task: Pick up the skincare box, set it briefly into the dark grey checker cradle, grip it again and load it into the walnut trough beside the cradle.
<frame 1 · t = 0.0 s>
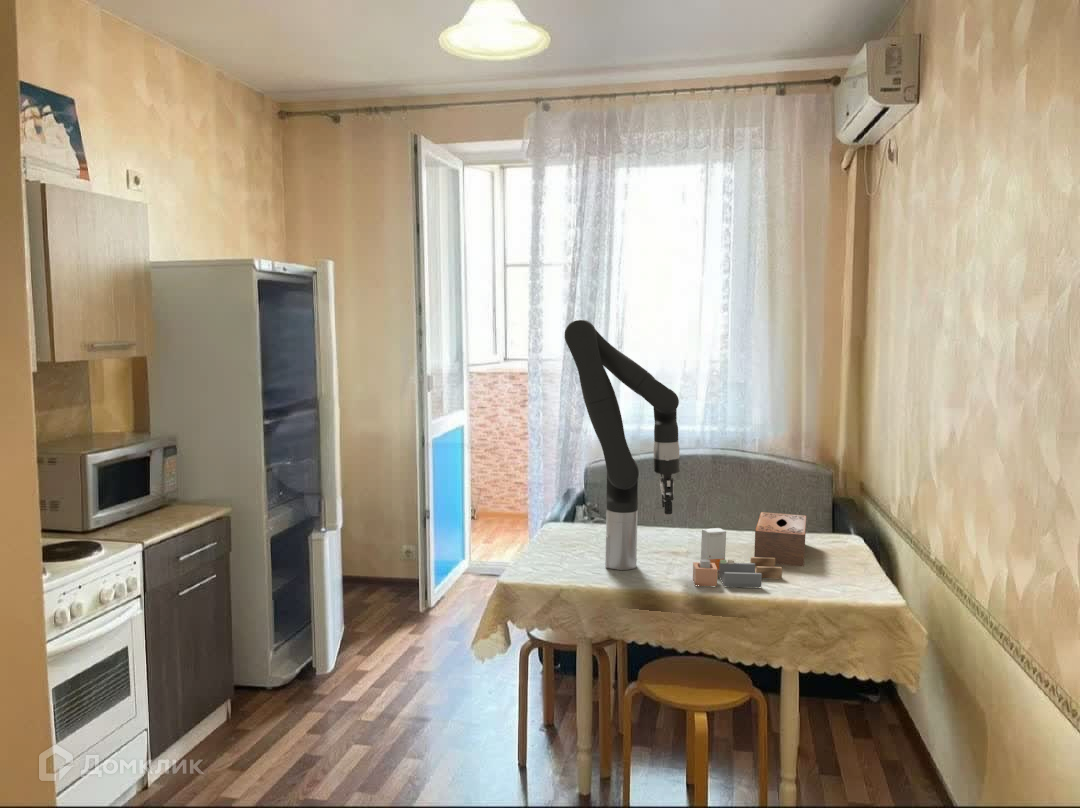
hand: (667, 510, 245), 17 cm above the table, tool pointing down, fingers open, 8 cm apart
checker cradle: (739, 581, 233), on the table
tissue box cover: (780, 554, 263), on the table
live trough: (765, 573, 241), on the table
skincare box: (712, 570, 244), on the table
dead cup: (704, 583, 232), on the table
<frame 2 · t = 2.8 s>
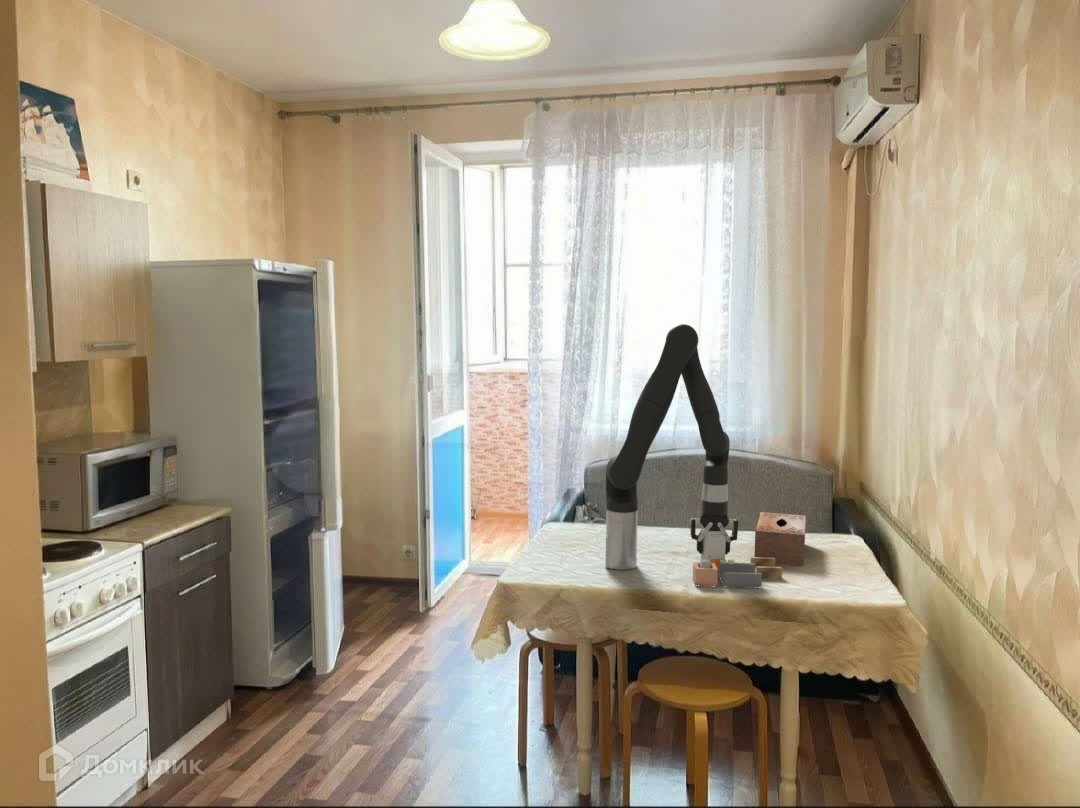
hand: (713, 553, 244), 5 cm above the table, tool pointing down, fingers closed on skincare box, 7 cm apart
skincare box: (712, 570, 245), on the table, touching gripper
everything else where it was.
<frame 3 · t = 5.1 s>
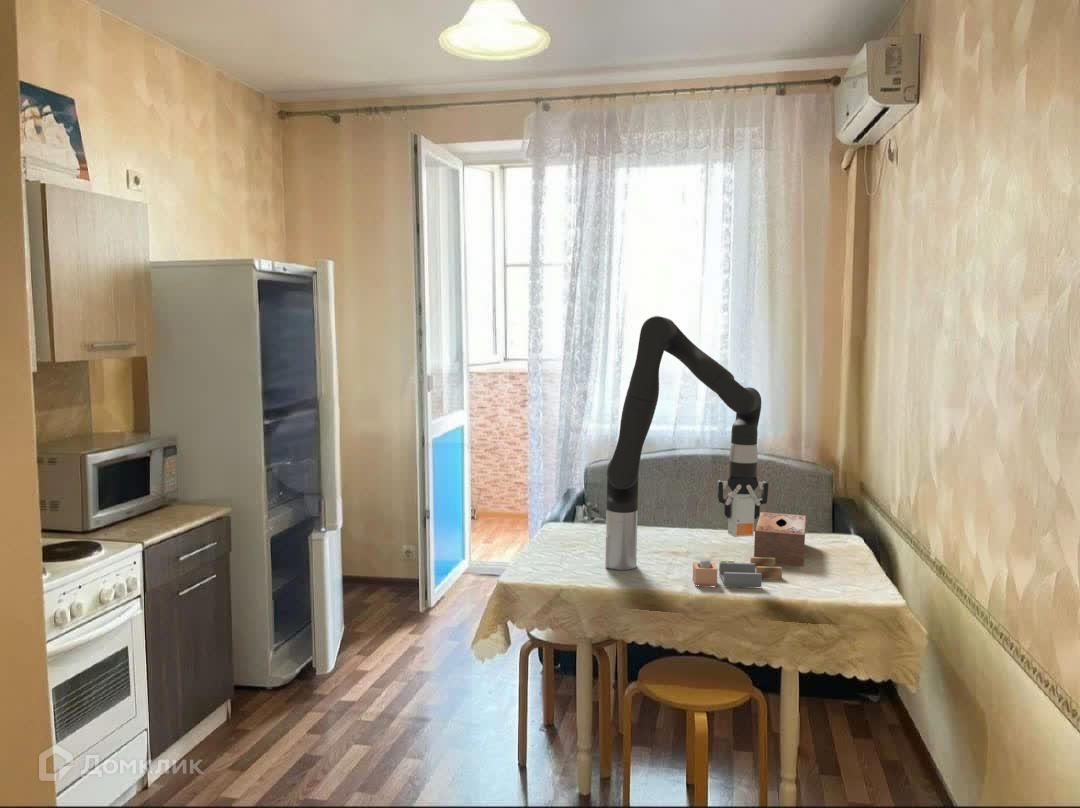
hand: (741, 517, 231), 18 cm above the table, tool pointing down, fingers closed on skincare box, 7 cm apart
skincare box: (740, 535, 232), point 13 cm above the table, touching gripper
everything else where it was.
when the fingers open (7 cm above the table, at t = 7.4 s): skincare box stays where it is, resting on checker cradle.
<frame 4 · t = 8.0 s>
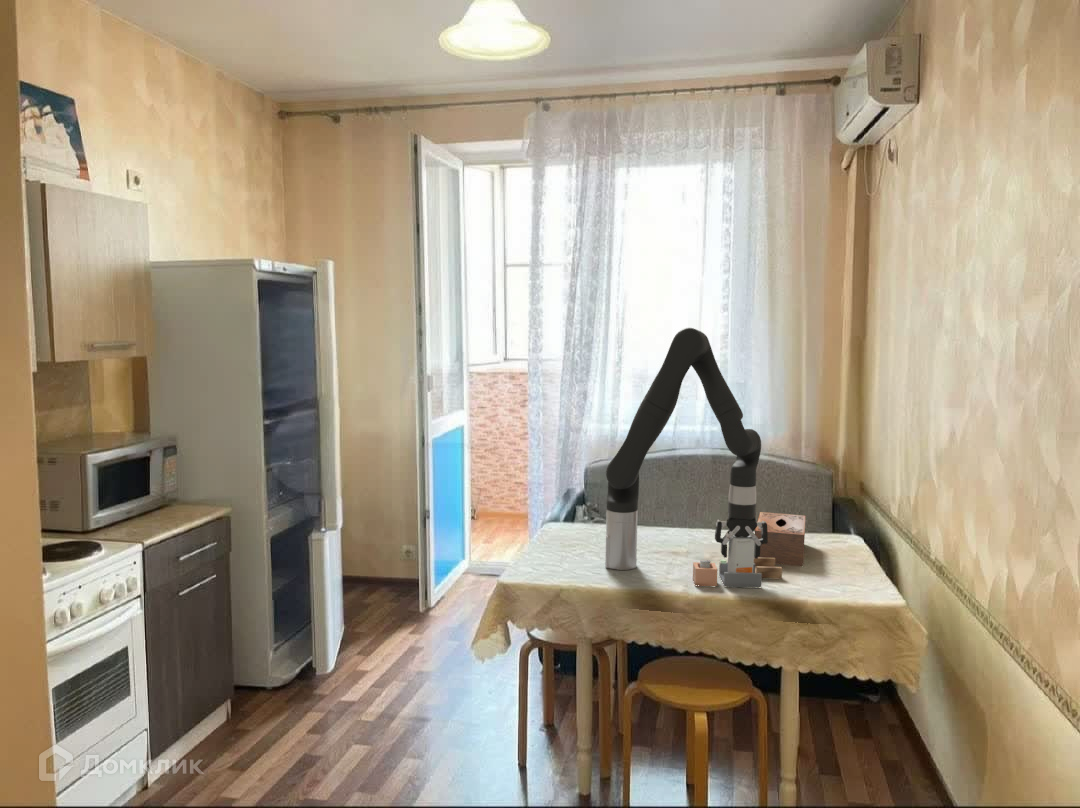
hand: (740, 557, 232), 7 cm above the table, tool pointing down, fingers open, 8 cm apart
skincare box: (740, 579, 233), point 1 cm above the table, touching checker cradle
everything else where it was.
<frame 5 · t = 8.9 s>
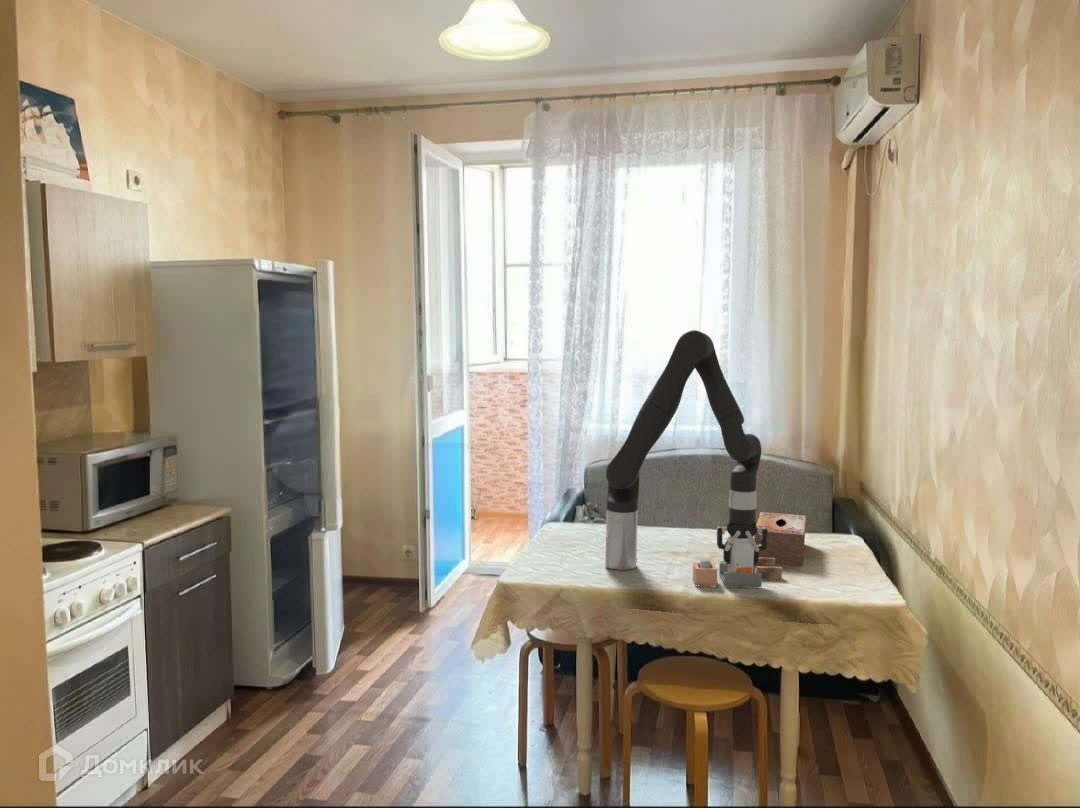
hand: (740, 563, 233), 5 cm above the table, tool pointing down, fingers closed on skincare box, 7 cm apart
skincare box: (740, 579, 233), point 1 cm above the table, touching checker cradle, gripper
everything else where it was.
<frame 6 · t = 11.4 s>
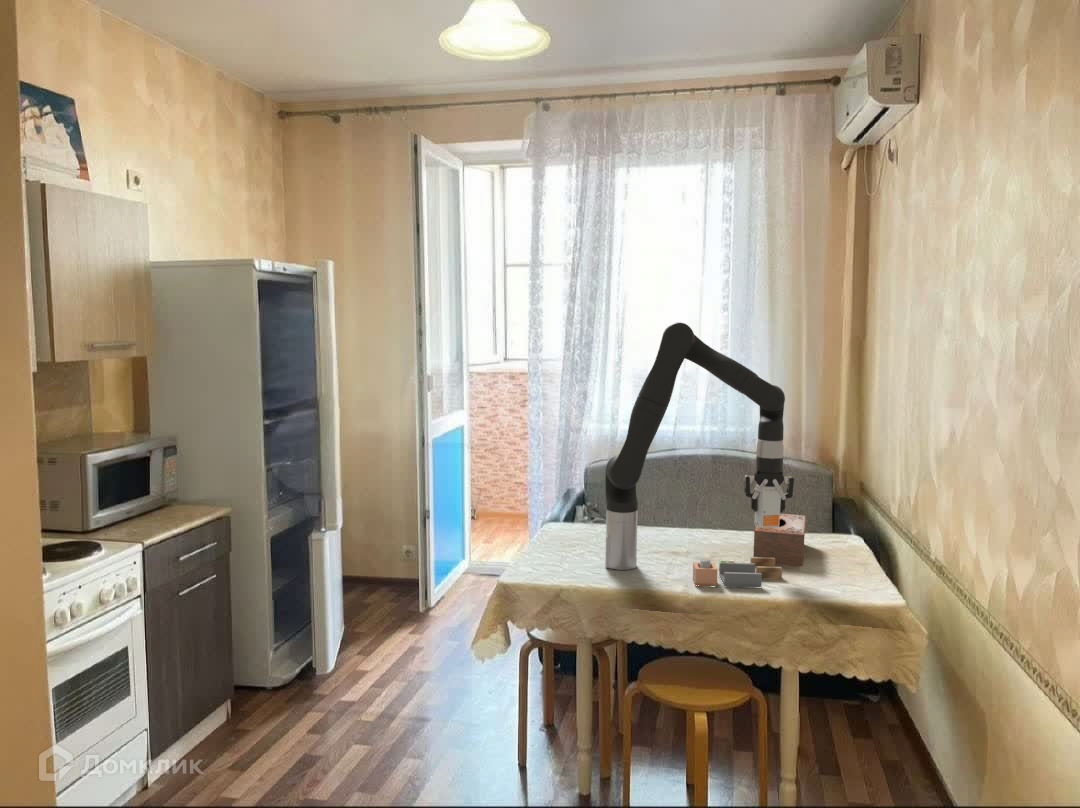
hand: (767, 511, 239), 18 cm above the table, tool pointing down, fingers closed on skincare box, 7 cm apart
skincare box: (767, 526, 240), point 14 cm above the table, touching gripper
everything else where it was.
when the fingers open (6 cm above the table, at t = 13.8 s): skincare box stays where it is, resting on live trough.
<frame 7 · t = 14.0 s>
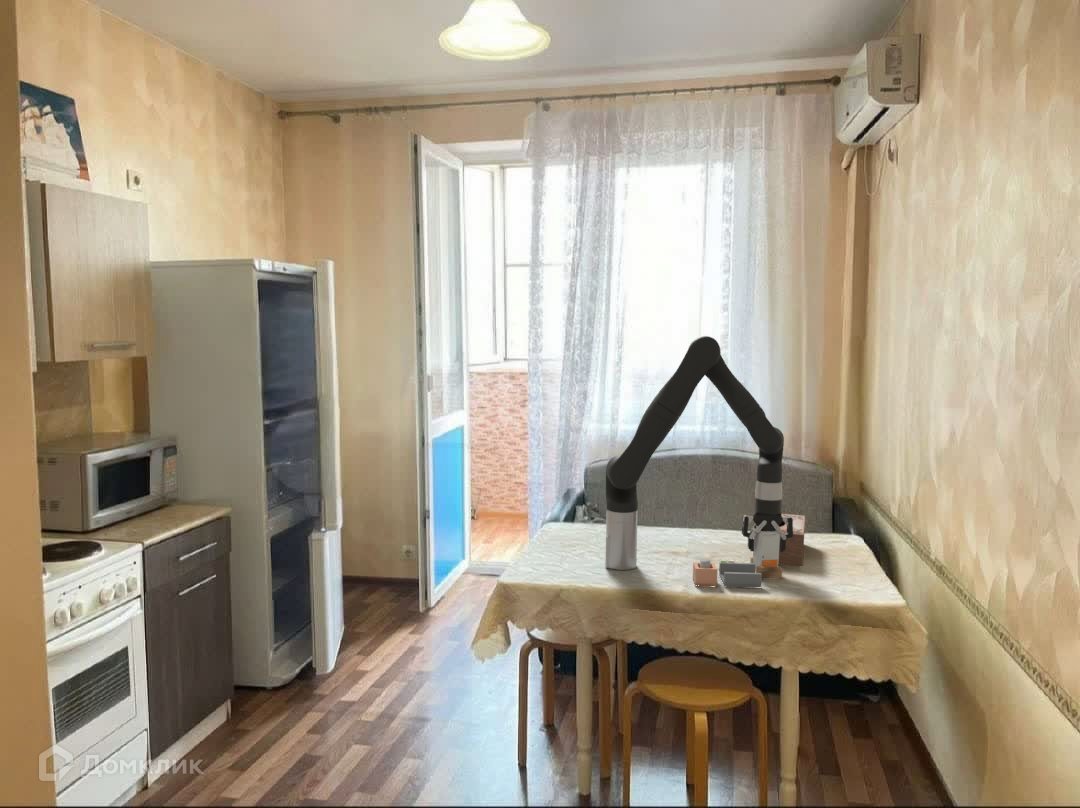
hand: (766, 551, 241), 7 cm above the table, tool pointing down, fingers open, 8 cm apart
skincare box: (765, 571, 241), point 1 cm above the table, touching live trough
everything else where it was.
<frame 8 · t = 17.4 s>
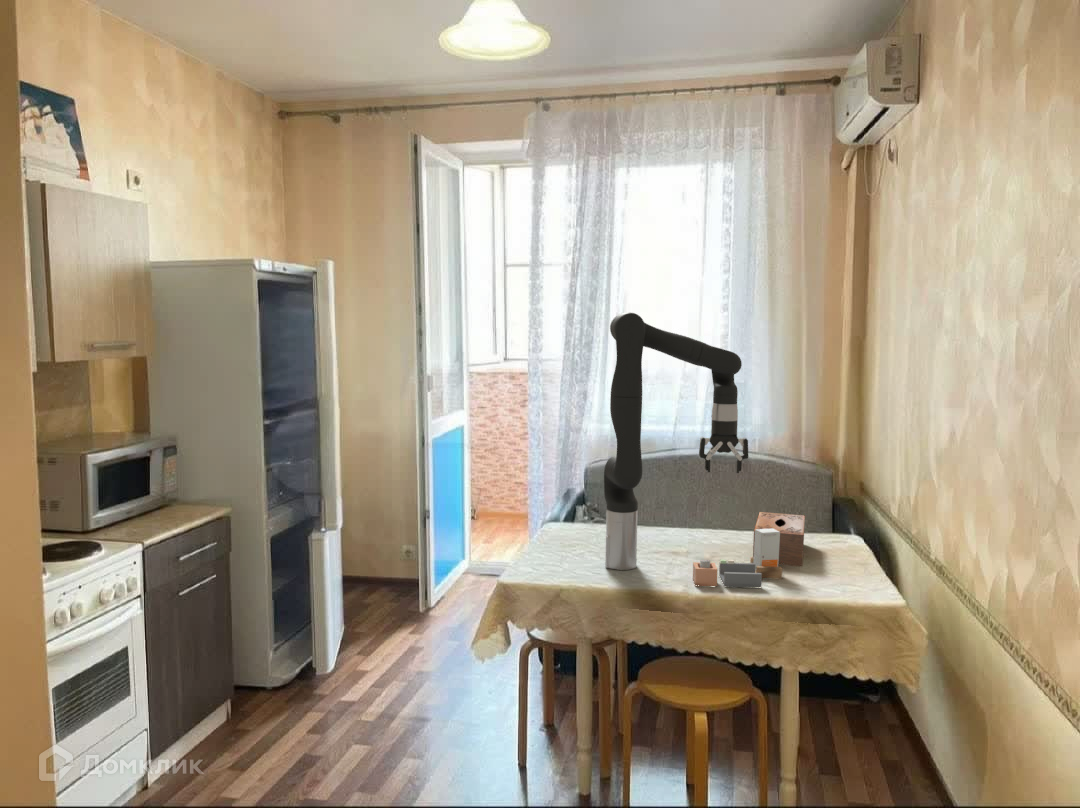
hand: (722, 472, 247), 28 cm above the table, tool pointing down, fingers open, 8 cm apart
nothing on the table moved.
at the end: skincare box 0.0 cm off-centre on the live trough, point 0.6 cm above the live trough's base; skincare box tilted 0°; the gripper is holding nothing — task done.
